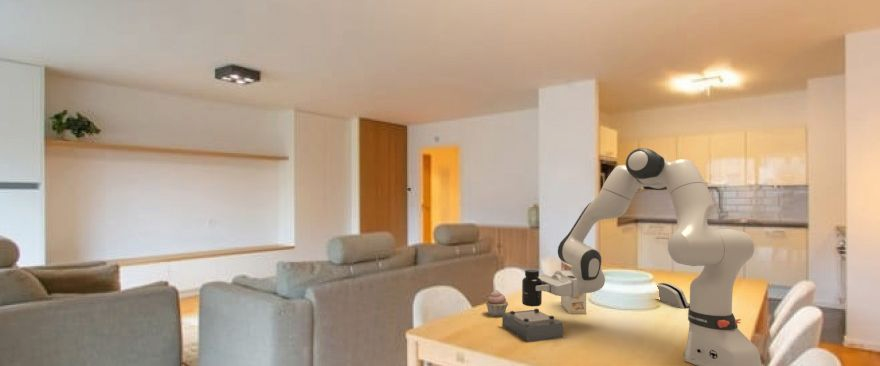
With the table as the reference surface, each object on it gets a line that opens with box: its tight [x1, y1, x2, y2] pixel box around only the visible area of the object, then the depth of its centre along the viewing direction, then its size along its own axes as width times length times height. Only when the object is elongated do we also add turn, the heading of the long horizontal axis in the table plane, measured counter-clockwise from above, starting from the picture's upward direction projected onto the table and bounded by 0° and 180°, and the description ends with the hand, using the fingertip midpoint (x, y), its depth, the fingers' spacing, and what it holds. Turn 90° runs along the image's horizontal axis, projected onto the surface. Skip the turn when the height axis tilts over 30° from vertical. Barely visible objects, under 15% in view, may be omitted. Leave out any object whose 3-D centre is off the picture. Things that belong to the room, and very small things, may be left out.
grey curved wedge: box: [656, 282, 690, 309], centre depth 207 cm, size 17×5×10 cm, turn 11°
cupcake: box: [485, 289, 509, 318], centre depth 190 cm, size 9×9×10 cm
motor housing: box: [501, 308, 564, 343], centre depth 169 cm, size 21×14×6 cm, turn 19°
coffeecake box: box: [560, 259, 587, 315], centre depth 198 cm, size 15×7×20 cm, turn 179°
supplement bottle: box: [521, 269, 543, 307], centre depth 168 cm, size 7×7×12 cm
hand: (529, 285), depth 168 cm, fingers closed on supplement bottle, 7 cm apart
